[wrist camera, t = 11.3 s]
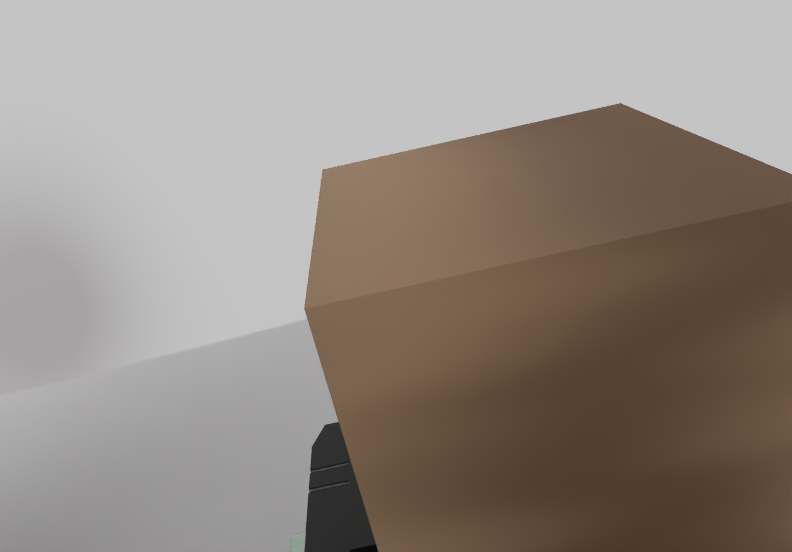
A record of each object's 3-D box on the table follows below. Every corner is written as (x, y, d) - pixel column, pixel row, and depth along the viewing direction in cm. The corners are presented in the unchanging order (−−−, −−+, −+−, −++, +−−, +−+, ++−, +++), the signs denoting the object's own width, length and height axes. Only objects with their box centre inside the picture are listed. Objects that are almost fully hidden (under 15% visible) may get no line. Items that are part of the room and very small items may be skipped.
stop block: (495, 937, 10) (304, 307, 5) (453, 666, 13) (323, 170, 9) (770, 883, 9) (836, 191, 5) (648, 626, 13) (620, 103, 9)
